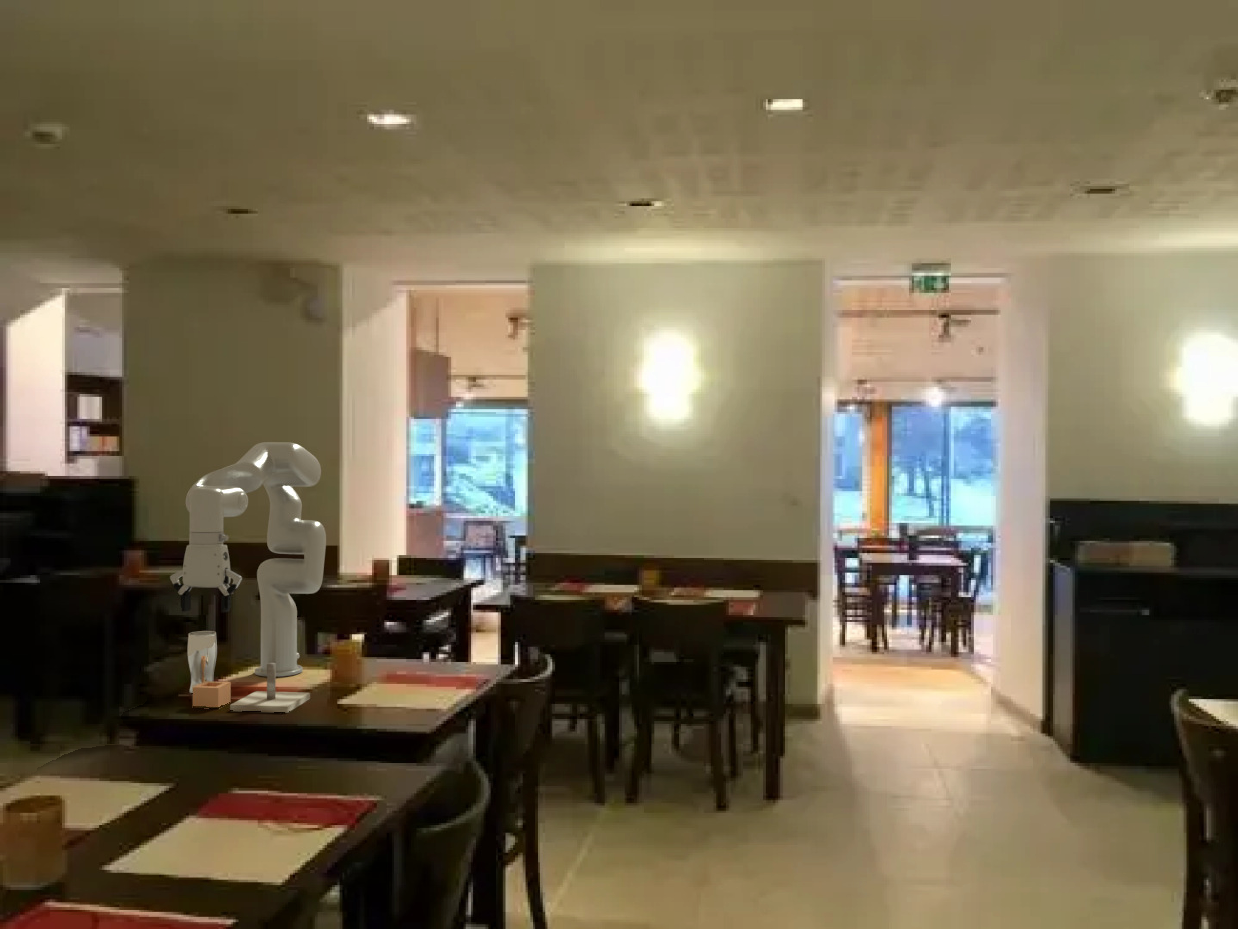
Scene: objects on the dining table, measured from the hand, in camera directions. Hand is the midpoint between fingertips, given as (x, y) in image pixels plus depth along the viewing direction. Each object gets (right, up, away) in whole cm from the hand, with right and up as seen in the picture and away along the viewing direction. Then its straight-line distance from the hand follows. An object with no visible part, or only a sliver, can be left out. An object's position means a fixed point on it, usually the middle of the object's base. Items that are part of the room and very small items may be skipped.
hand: (205, 611), depth 250 cm
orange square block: (0, -23, +4) cm, 24 cm away
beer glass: (-8, -23, +18) cm, 31 cm away
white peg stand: (+14, -23, +5) cm, 28 cm away
